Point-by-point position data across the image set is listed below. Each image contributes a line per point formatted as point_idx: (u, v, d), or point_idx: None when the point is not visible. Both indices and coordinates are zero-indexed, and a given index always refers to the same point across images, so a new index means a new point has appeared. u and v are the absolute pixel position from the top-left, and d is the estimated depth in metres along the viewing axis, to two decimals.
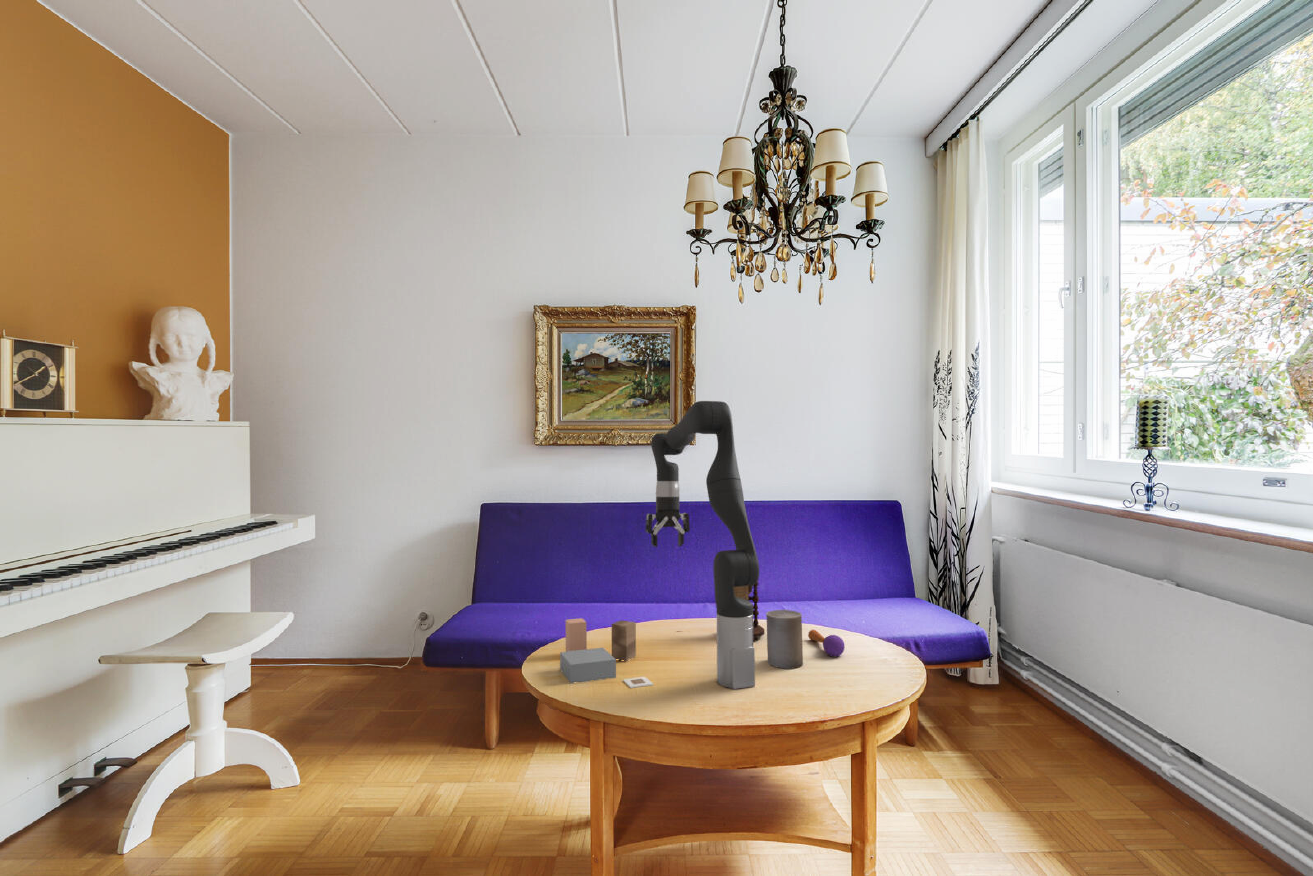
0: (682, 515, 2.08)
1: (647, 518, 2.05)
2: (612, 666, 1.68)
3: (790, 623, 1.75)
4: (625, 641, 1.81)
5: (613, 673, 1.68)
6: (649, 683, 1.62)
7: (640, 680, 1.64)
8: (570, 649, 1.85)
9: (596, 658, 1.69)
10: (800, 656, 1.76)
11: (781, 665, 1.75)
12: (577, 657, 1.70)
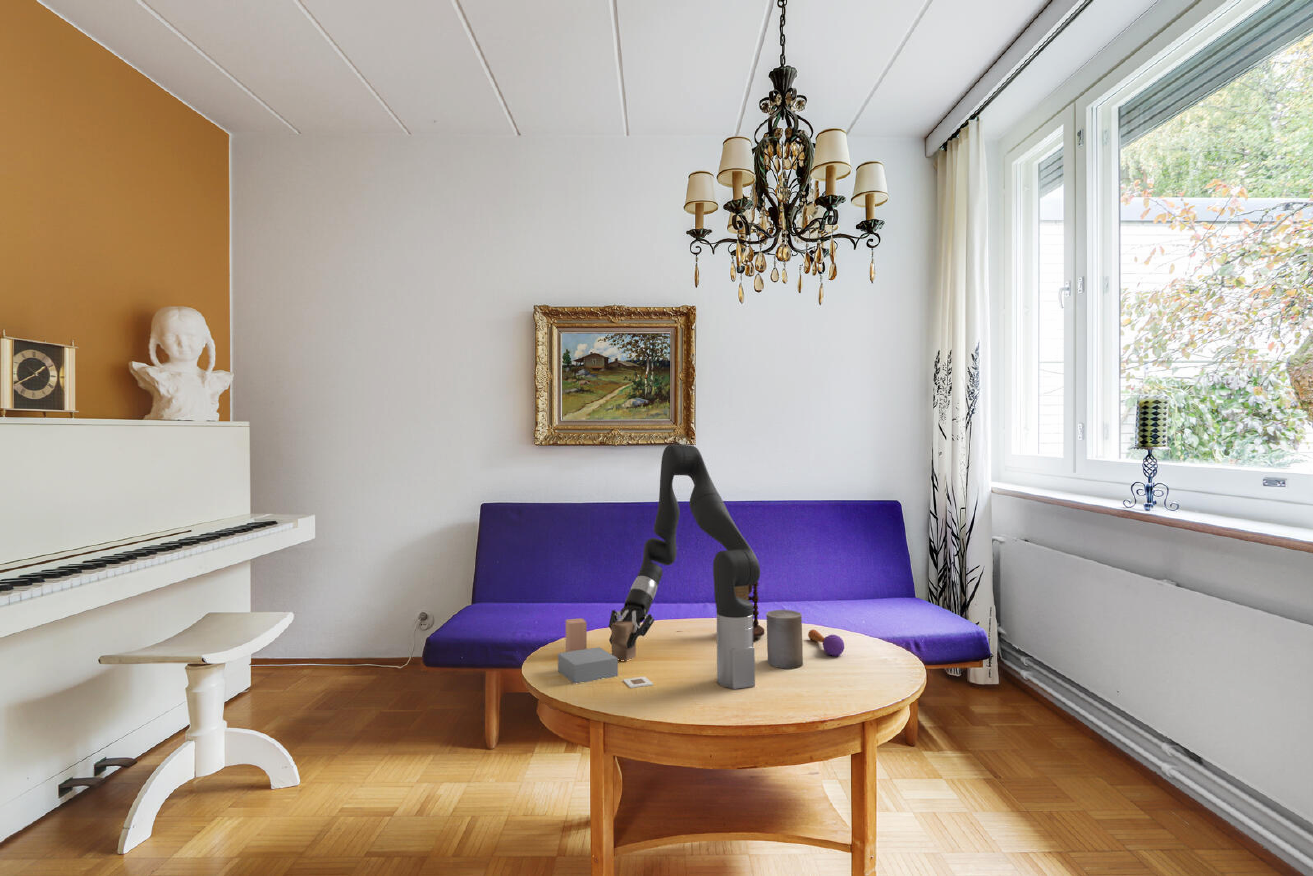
0: (646, 616, 1.87)
1: None
2: (614, 665, 1.69)
3: (790, 623, 1.75)
4: (625, 641, 1.81)
5: (615, 672, 1.69)
6: (649, 683, 1.62)
7: (640, 680, 1.64)
8: (570, 649, 1.85)
9: (597, 657, 1.70)
10: (800, 656, 1.76)
11: (781, 665, 1.75)
12: (577, 657, 1.70)
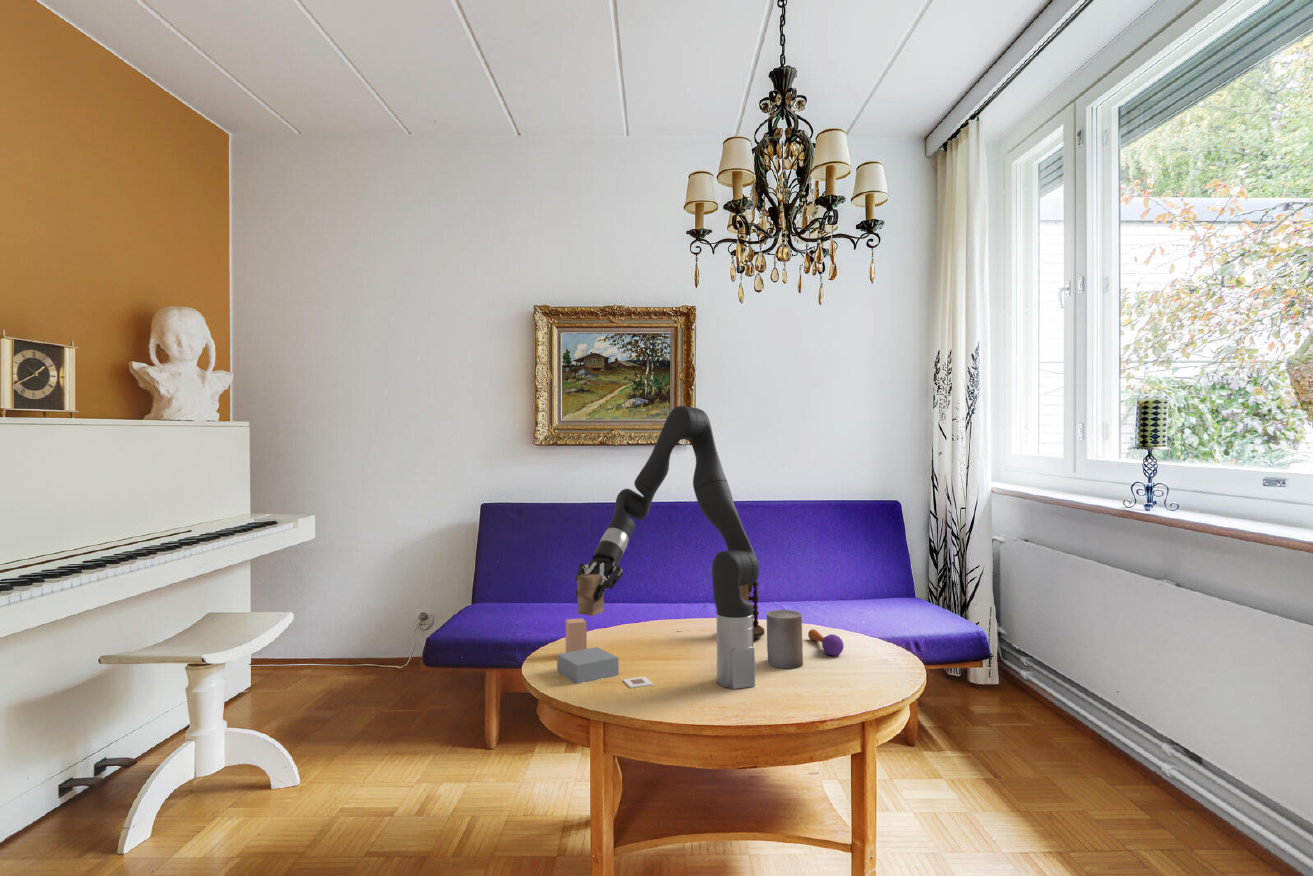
0: (615, 568, 1.76)
1: None
2: (615, 664, 1.69)
3: (790, 623, 1.75)
4: (591, 593, 1.70)
5: (616, 671, 1.69)
6: (649, 683, 1.62)
7: (640, 680, 1.64)
8: (570, 649, 1.85)
9: (597, 657, 1.70)
10: (800, 656, 1.76)
11: (781, 665, 1.75)
12: (578, 657, 1.70)
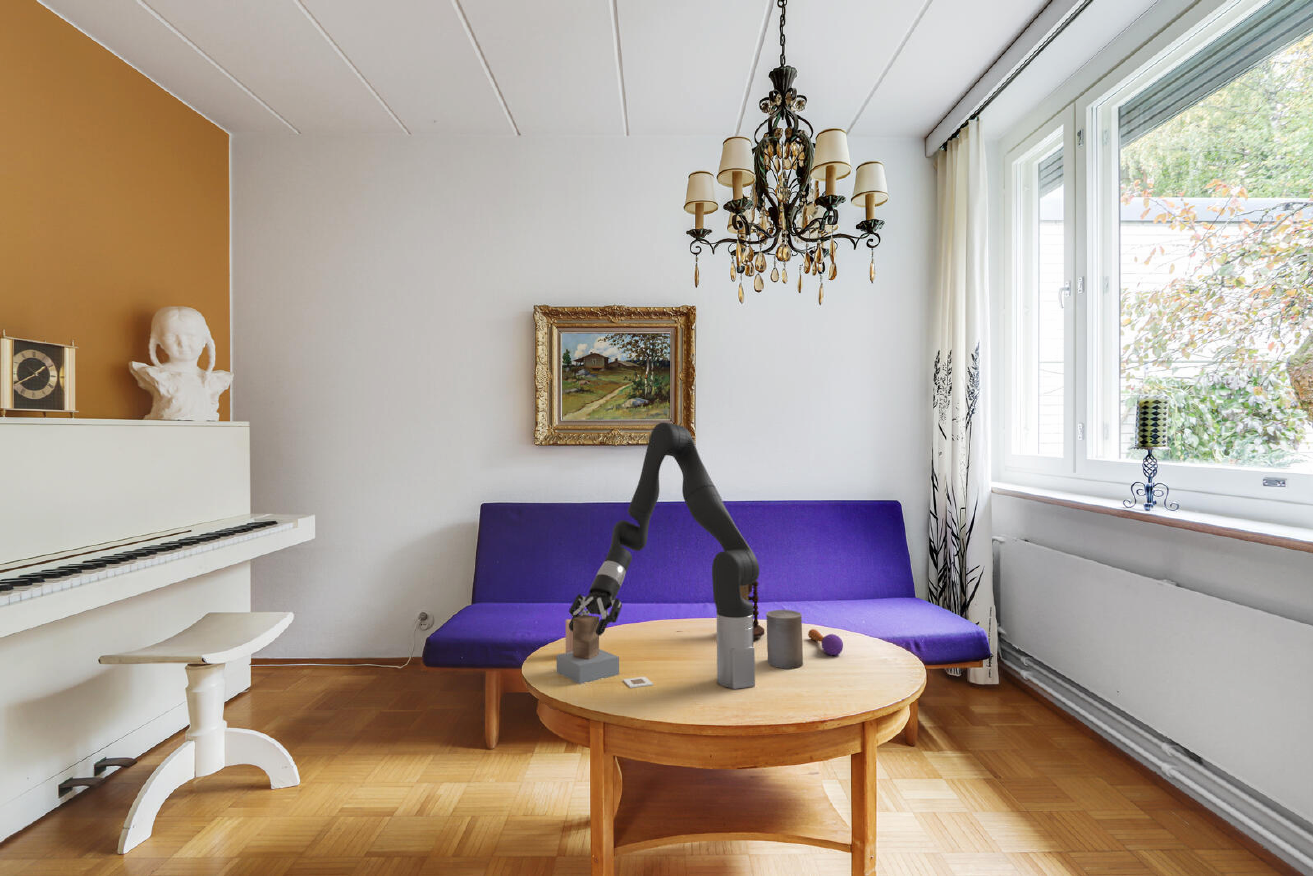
0: (613, 601, 1.74)
1: None
2: (616, 664, 1.70)
3: (790, 623, 1.75)
4: (588, 637, 1.69)
5: (616, 670, 1.70)
6: (649, 683, 1.62)
7: (640, 680, 1.64)
8: (570, 649, 1.85)
9: (598, 657, 1.70)
10: (800, 656, 1.76)
11: (781, 665, 1.75)
12: (578, 658, 1.70)
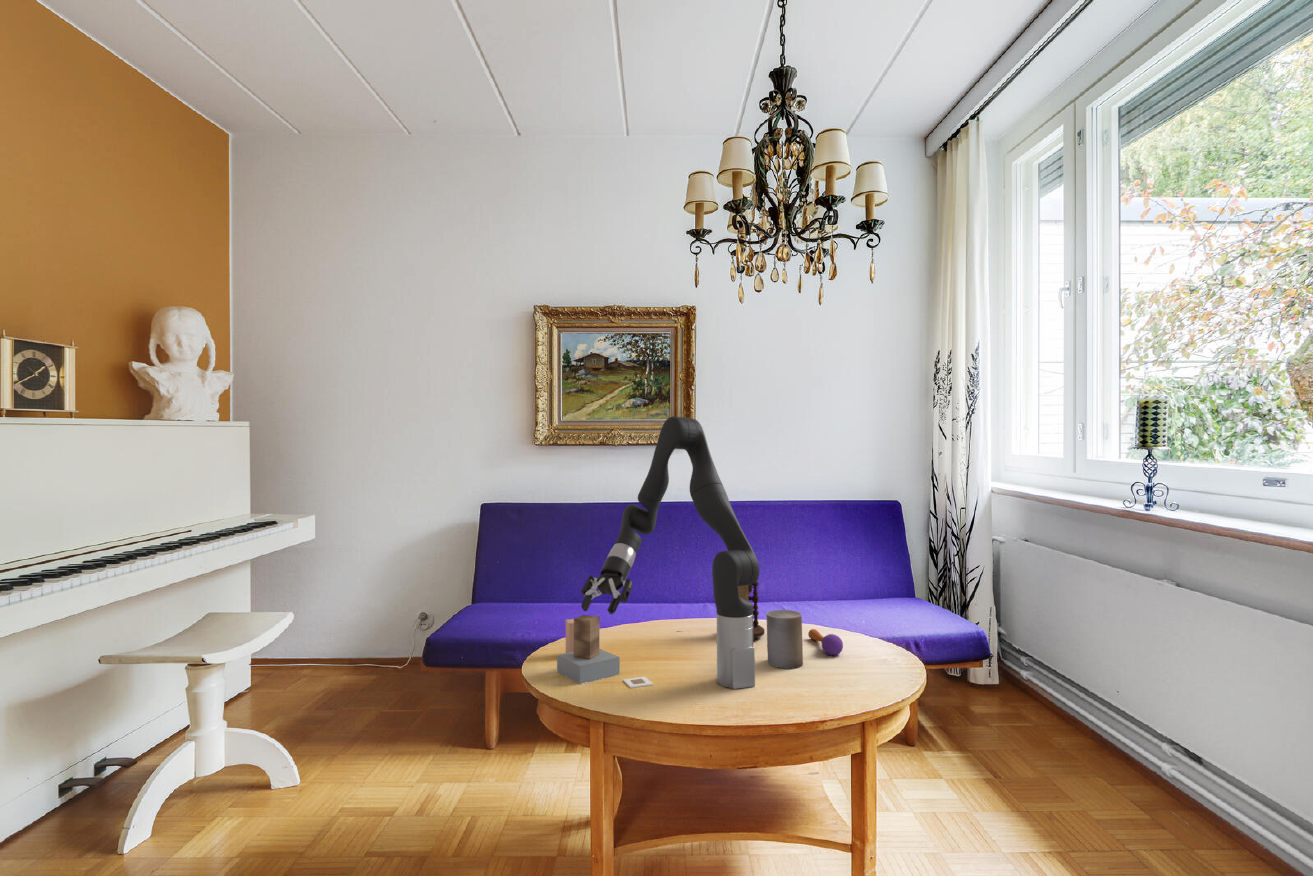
0: (624, 582, 1.79)
1: None
2: (616, 664, 1.70)
3: (790, 623, 1.75)
4: (589, 636, 1.69)
5: (617, 670, 1.70)
6: (649, 683, 1.62)
7: (640, 680, 1.64)
8: (570, 649, 1.85)
9: (598, 657, 1.70)
10: (800, 656, 1.76)
11: (781, 665, 1.75)
12: (579, 658, 1.70)
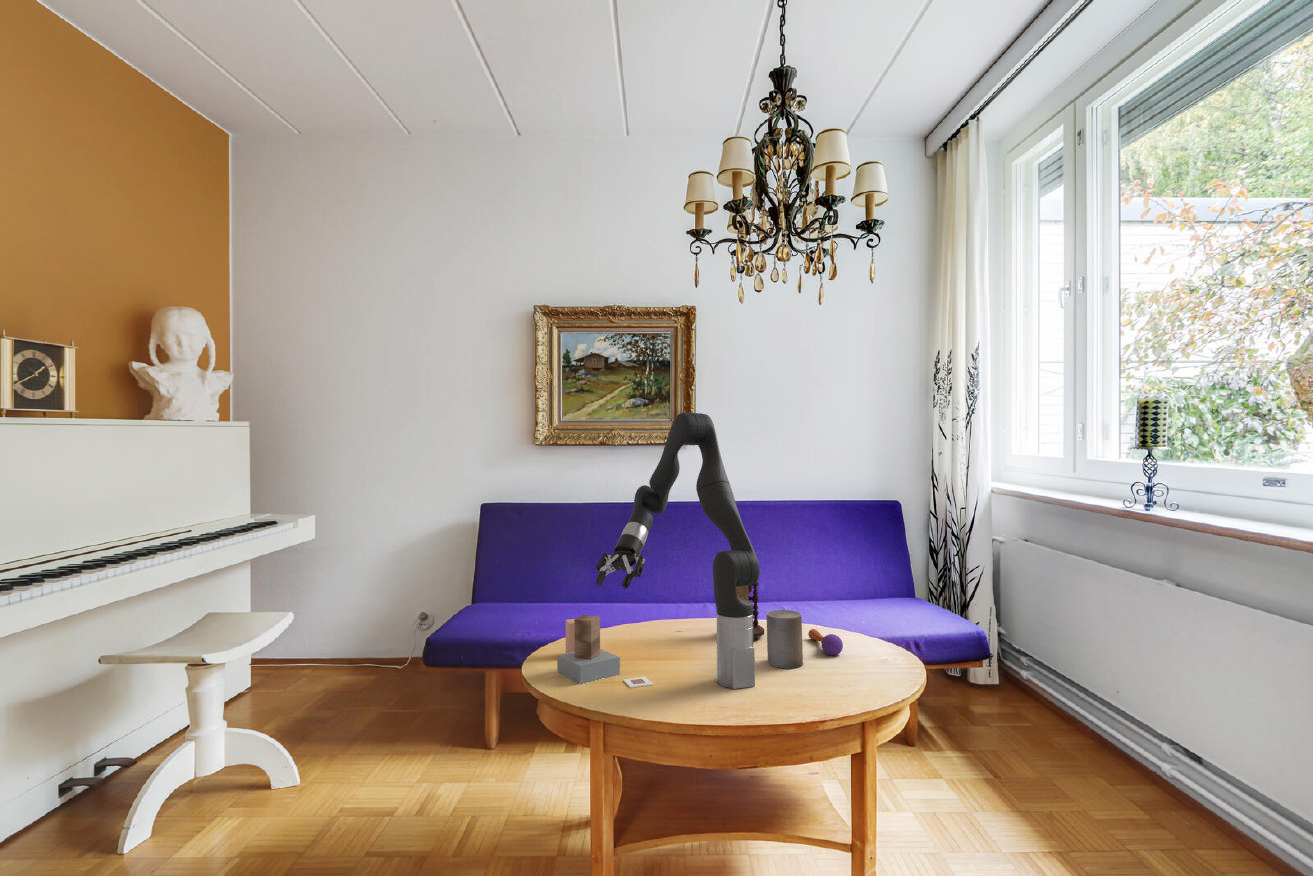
0: (637, 558, 1.86)
1: None
2: (617, 664, 1.70)
3: (790, 623, 1.75)
4: (590, 637, 1.69)
5: (617, 671, 1.70)
6: (649, 683, 1.62)
7: (640, 680, 1.64)
8: (570, 649, 1.85)
9: (599, 657, 1.70)
10: (800, 656, 1.76)
11: (781, 665, 1.75)
12: (579, 658, 1.70)
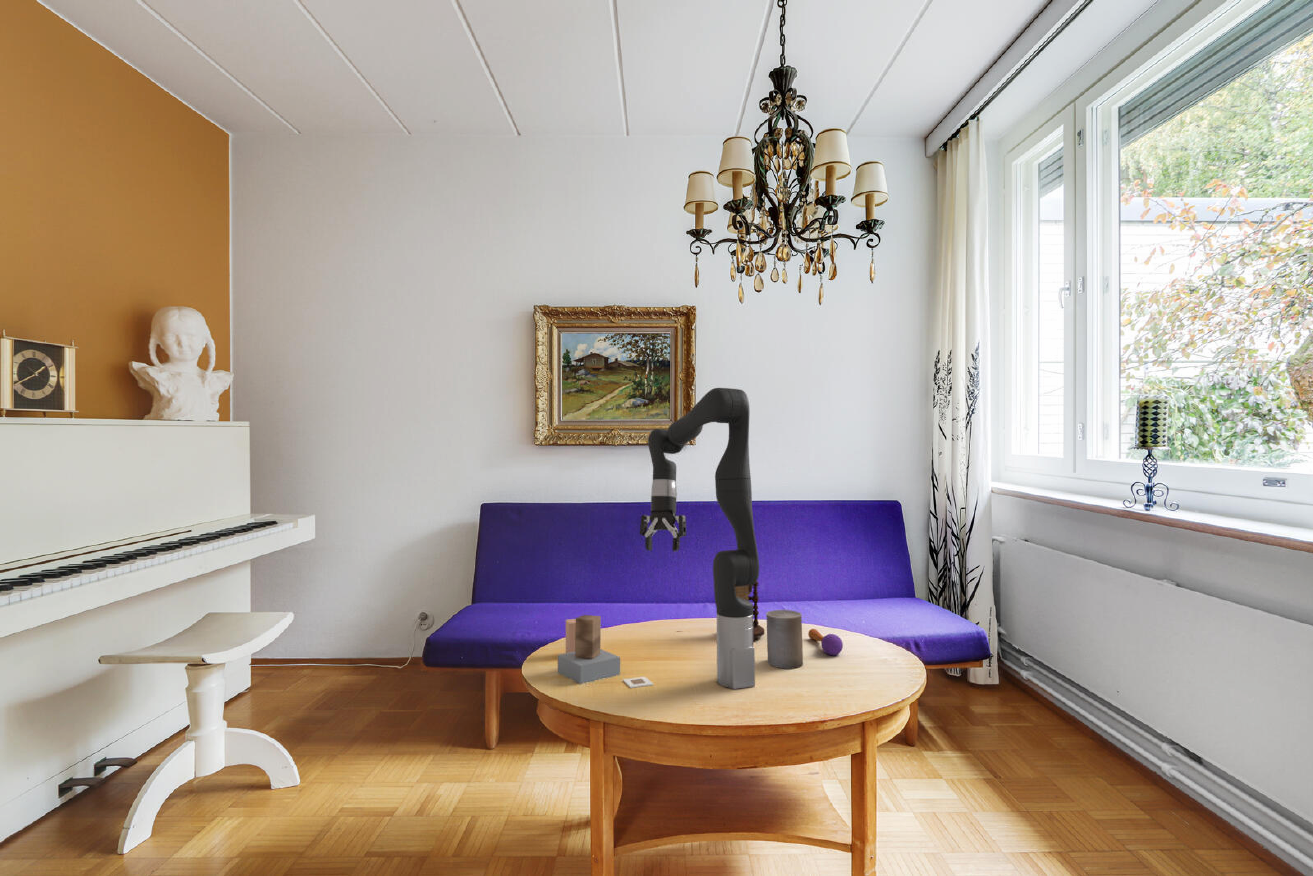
0: (677, 517, 1.89)
1: None
2: (617, 664, 1.70)
3: (790, 623, 1.75)
4: (591, 636, 1.69)
5: (618, 671, 1.70)
6: (649, 683, 1.62)
7: (640, 680, 1.64)
8: (570, 649, 1.85)
9: (599, 657, 1.70)
10: (800, 656, 1.76)
11: (781, 665, 1.75)
12: (579, 658, 1.70)
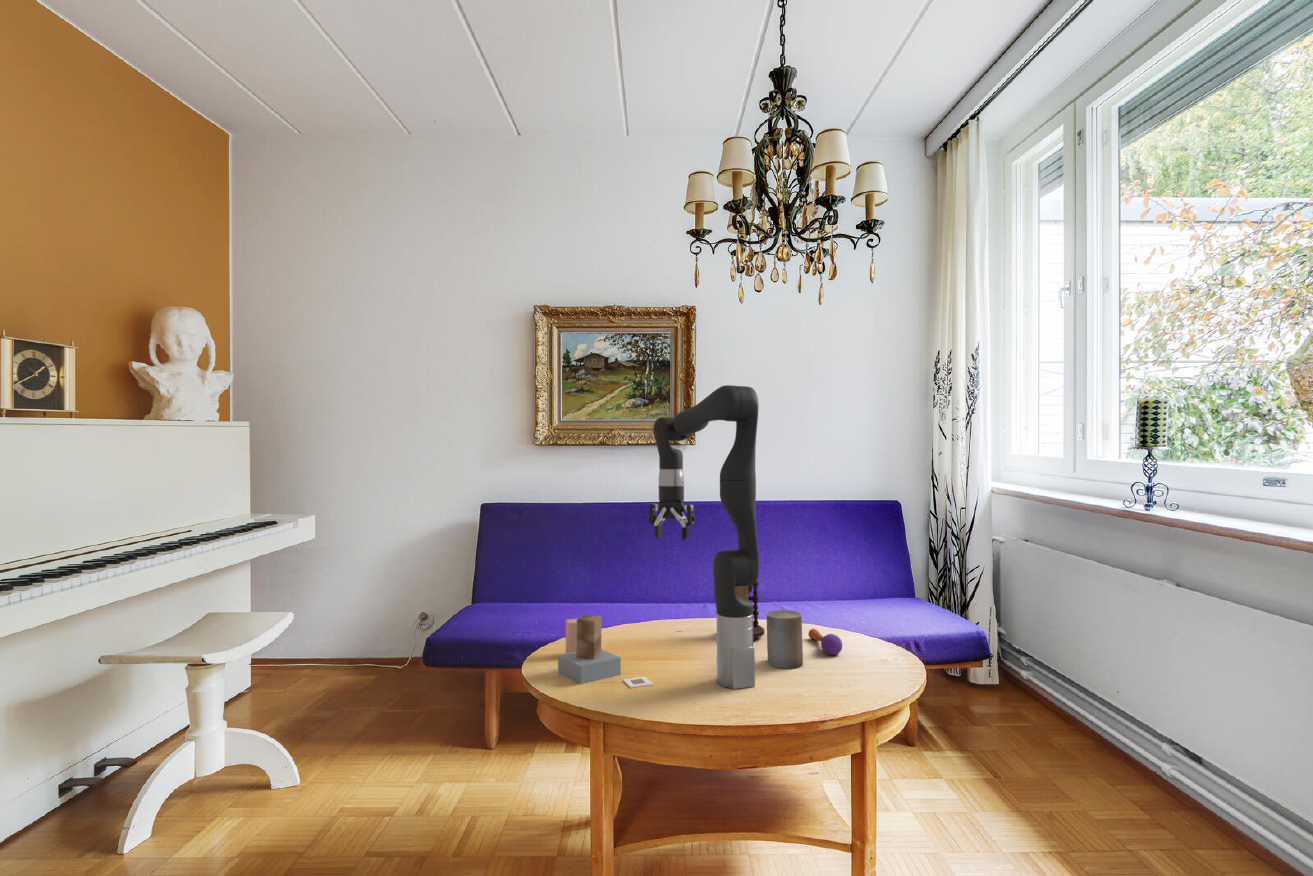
0: (685, 507, 1.89)
1: None
2: (617, 664, 1.70)
3: (790, 623, 1.75)
4: (593, 637, 1.69)
5: (618, 671, 1.70)
6: (649, 683, 1.62)
7: (640, 680, 1.64)
8: (570, 649, 1.85)
9: (600, 657, 1.70)
10: (800, 656, 1.76)
11: (781, 665, 1.75)
12: (580, 658, 1.69)
